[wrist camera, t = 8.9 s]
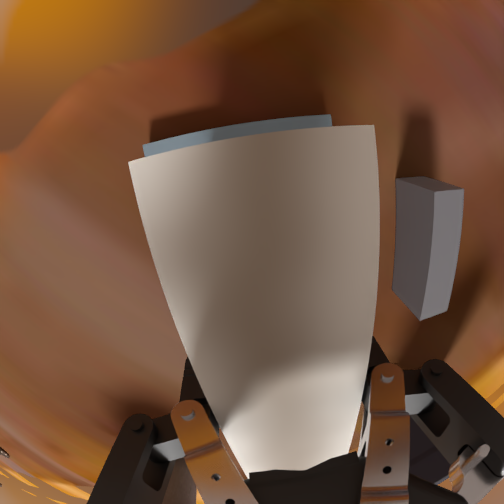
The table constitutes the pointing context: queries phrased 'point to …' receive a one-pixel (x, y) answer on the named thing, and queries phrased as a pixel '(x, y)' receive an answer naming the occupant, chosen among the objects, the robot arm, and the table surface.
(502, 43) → the table surface
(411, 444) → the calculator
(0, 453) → the candlestick
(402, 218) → the block
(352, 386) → the shelf board
